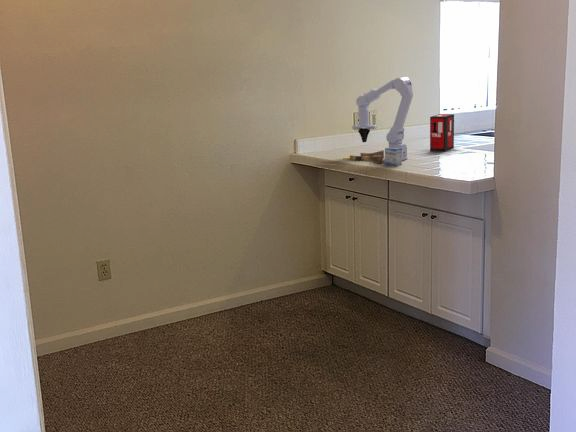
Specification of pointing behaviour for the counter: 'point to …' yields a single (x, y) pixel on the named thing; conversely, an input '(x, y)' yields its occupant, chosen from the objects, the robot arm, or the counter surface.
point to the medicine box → (393, 156)
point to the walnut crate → (378, 159)
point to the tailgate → (347, 157)
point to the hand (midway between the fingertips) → (364, 142)
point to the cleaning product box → (442, 132)
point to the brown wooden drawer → (367, 156)
